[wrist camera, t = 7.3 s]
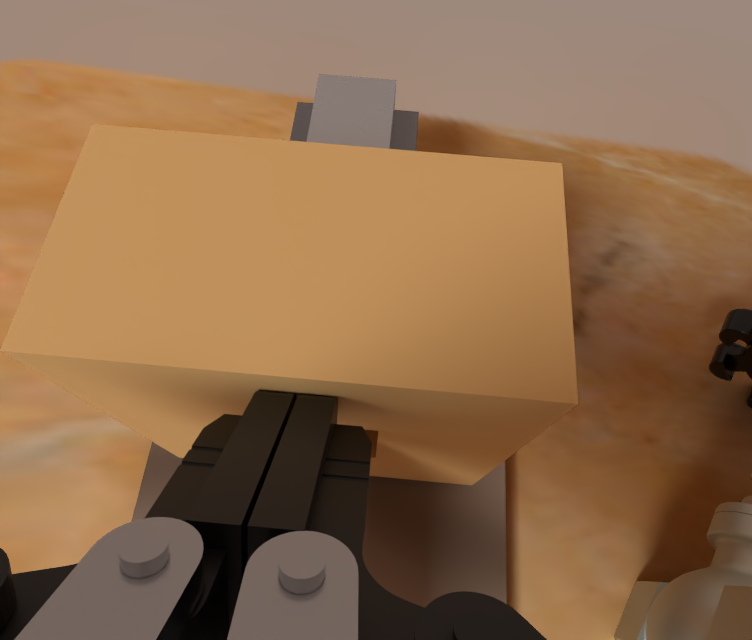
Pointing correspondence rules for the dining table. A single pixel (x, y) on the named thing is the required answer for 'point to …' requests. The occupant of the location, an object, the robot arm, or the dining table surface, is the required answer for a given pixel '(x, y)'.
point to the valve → (725, 534)
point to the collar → (309, 292)
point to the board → (410, 531)
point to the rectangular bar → (355, 115)
